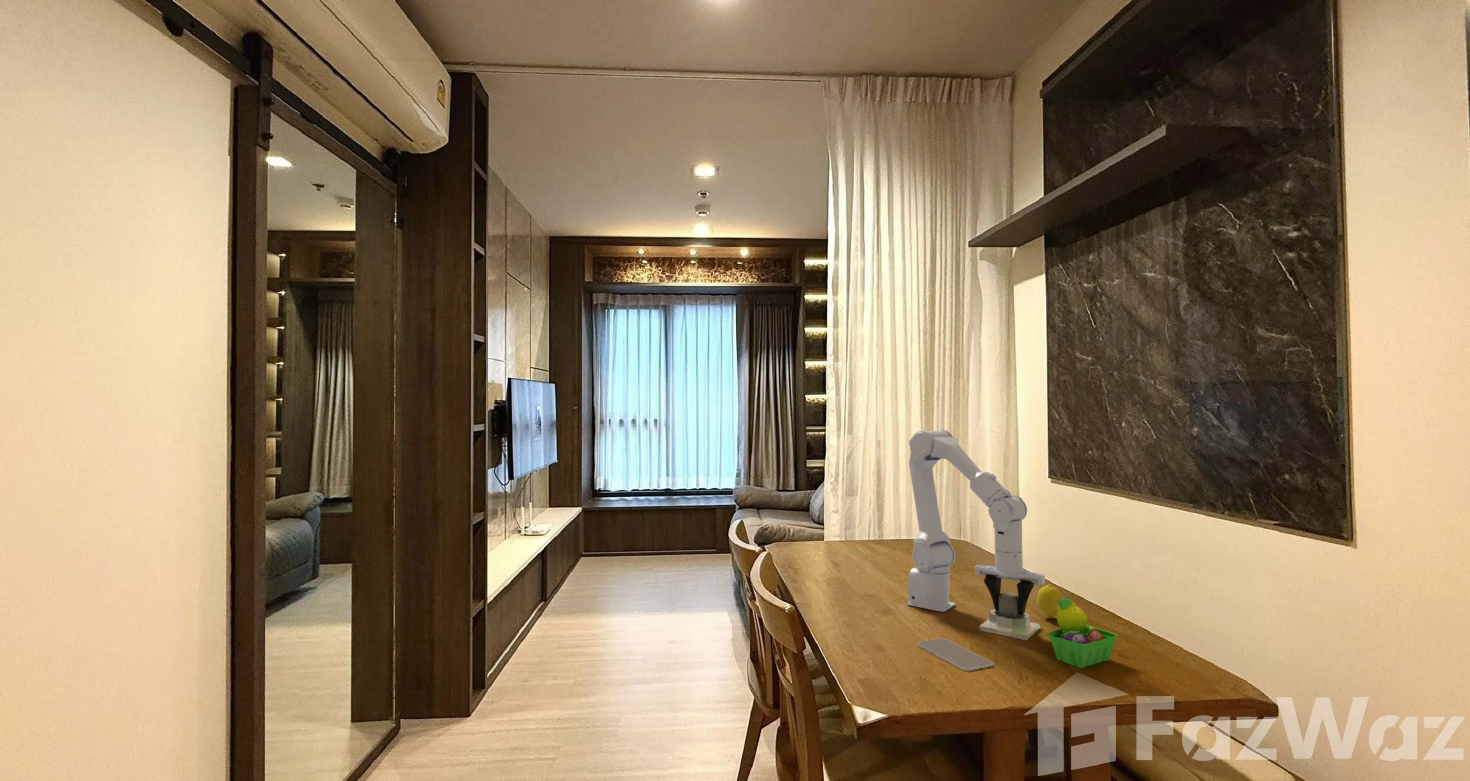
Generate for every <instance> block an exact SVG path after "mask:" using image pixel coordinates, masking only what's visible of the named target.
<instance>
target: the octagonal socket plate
mask: <svg viewBox="0 0 1470 781" xmlns="http://www.w3.org/2000/svg"><path fill="white" fill-rule="evenodd" d="M988 613H989V615H988V616H989V618H988V619H986V620H985V621H984V622H983V623H981V624H980V625H979V631H981V632H986V633H990V634H996V635H1000V636H1005V637H1009V638H1014V639H1018V640H1023V641H1028V640H1029V639H1030V638H1032V637H1033V635H1034V634H1036V632H1038V631H1039V630H1040V629H1041V624H1040V623H1038V622H1031V615H1030V614H1028V613H1027V612H1025V613H1024V614H1023V615H1021V618H1008V617H1003V616H999V613H998V611H997V610H995V608H993V609H991V610H989V612H988Z"/></svg>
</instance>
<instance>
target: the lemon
mask: <svg viewBox="0 0 1470 781" xmlns="http://www.w3.org/2000/svg"><path fill="white" fill-rule="evenodd" d="M1036 596H1037V598H1036V604H1037V607H1038V609H1039V611H1040V613H1042V614H1043V615H1046V617H1047V618H1048V619H1052V618H1054V617H1057V605H1058V601H1059V600H1060V599H1062V598H1063V596H1062V593H1061V591H1060V590H1059V589H1058V588H1057V587H1055V586H1053V585H1052V584H1049V583H1048V584H1047V585H1044V586H1042V587H1041V588H1039V590H1038V592H1037V595H1036Z"/></svg>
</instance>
